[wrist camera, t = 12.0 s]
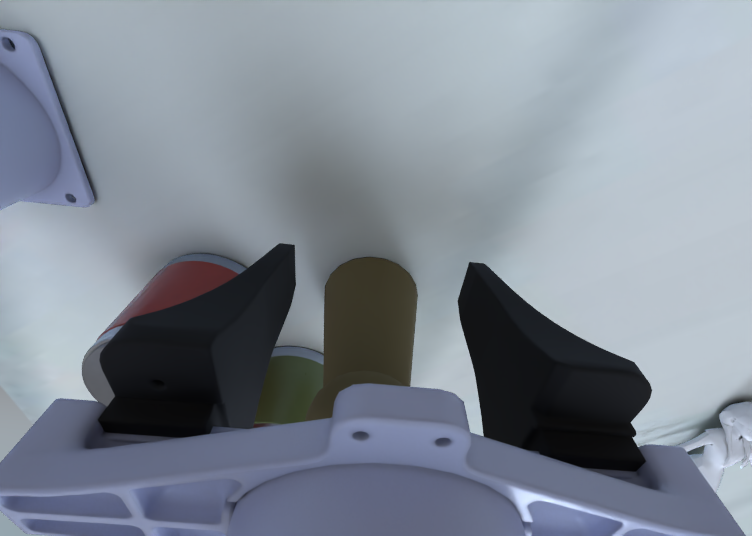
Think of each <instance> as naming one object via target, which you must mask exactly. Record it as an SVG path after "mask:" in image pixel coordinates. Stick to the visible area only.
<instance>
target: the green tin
mask: <svg viewBox="0 0 752 536" xmlns="http://www.w3.org/2000/svg"><path fill="white" fill-rule="evenodd" d="M323 365H324V355H322V354H320V353H318V352H316V351H313V350H310V349H306V348H301V347H291V346H286V347H277V348H274V349H273V352H272V355H271V358H270V362H269V365H268V369H267V373H266V376H265V380H264V384H263V388H262V392H261V396H260V400H259V404H258V408H257V413H256V417H255V421H254V425H253V428H259V427H267V426H274V425H282V424H289V423H297V422H304V421H305V418H306V414H307V411H308V409H309V407H310V405H311V403H312V401H313V399H314V398H315V396H316V394H317V393H318V391H319V390H321V389H322V388H323Z"/></svg>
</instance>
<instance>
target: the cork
mask: <svg viewBox="0 0 752 536" xmlns="http://www.w3.org/2000/svg"><path fill="white" fill-rule="evenodd" d="M417 297H418V295H417V289H416V284H415V282H414V280H413V279H412V277H411V275H410V274H409V273H408V272H407V271H406V270H405V269H403V268H402V267H401V266H400V265H398V264H396V263H394V262H391V261H389V260H386V259H382V258H373V257H365V258H359V259H353V260H351V261H349V262H347V263H344V264H342V265H340V266H339V267H338V268H337V269H336V270H335V271H334V272H333V273H332V274H331V275H330V277H329V279H328V281H327V283H326V285H325V299H324V365H323V388H322V389H321V390H319V391H318V393H317V394H316V396H315V398H314V399H313V401H312V403H311V405H310V407H309V409H308V411H307V414H306V418H305V421H312V420H319V419H327V418H332V415H333V407H334V401H335V399H336V397H337V395H338V393H339V392H340V391H342V390H344V389H346V388H348V387H350V386H352V385H354V384H366V383H371V384H383V385H395V386H407V387H410V382H411V370H412V357H413V345H414V333H415V321H416V309H417Z"/></svg>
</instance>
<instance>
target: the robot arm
mask: <svg viewBox="0 0 752 536" xmlns="http://www.w3.org/2000/svg"><path fill="white" fill-rule="evenodd" d="M9 39H10V40H11V41H13V43H14V45H15V49H14V48H13V47H12V46H11V44H10V42H9ZM71 194H72V195H73V196H74V197H75V198H76V199H74V198H73V197H72V196H71ZM18 201H26V202H36V203H45V204H55V205H65V206H75V207H89V206H90V205H92V204H93V203H94V201H95V199H94V195H93V193H92V190H91V187H90V185H89V182H88V179H87V176H86V174H85V171H84V168H83V165H82V163H81V160H80V157H79V154H78V152H77V149H76V146H75V143H74V141H73V138H72V135H71V133H70V130H69V127H68V124H67V122H66V119H65V116H64V113H63V111H62V108H61V105H60V102H59V100H58V97H57V94H56V91H55V89H54V86H53V83H52V81H51V78H50V75H49V72H48V70H47V67H46V64H45V61H44V59H43V56H42V53H41V50H40V48H39V46H38V44H37V42H36V41H35V39H34V38H33V37H32V36H30V35H29V34H27V33H25V32H21V31H13V30H5V29H0V210H2V209H4V208H6V207H8V206H10V205H12V204H14V203H16V202H18ZM295 286H296V280H295V245H291V244H281V243H279V244H278V245H277V246H275V247H274V248H273V249H272V250H270V251H269V252H268V253H267V254H266V255H264V256H263V257H262V258H261V259H259V260H258V261H257V262H255V263H254V264H253V265H252V266H250V267H249V268H247V269H246V270H244V271H243V272H242V273H240V274H239V275H237V276H236V277H234V278H233V279H231V280H229V281H228V282H226V283H224V284H222V285H220V286H219V287H217V288H215V289H213V290H211V291H209V292H206V293H204V294H202V295H200V296H197V297H195V298H193V299H191V300H188V301H185V302H183V303H180V304H177V305H174V306H171V307H168V308H165V309H162V310H159V311H155V312H151V313H148V314H144V315H140V316H136V317H132V318H130V319H129V320H128V321H127V322H126V323H125V324H124V325H123V326H122V327H121V328H120V330H119V331H118V332H117V333H116V334H115V335H114V337H113V338H112V339H111V340H110V341H109V343H108V344H107V345H106V346H105V347H104V349H103V350H102V351H101V353H100V358H99V362H100V365H101V368H102V371H103V373H104V375H105V377H106V379H107V381H108V383H109V385H110V387H111V389H112V391H113V393H114V395H115V397H114V398H113V400H112V401H111V402H110V404H109V405H108V406H106V405H104V404H102V403H100V402H96V401H88V400H76V399H63V398H60V399H56V400H55V401H54V402H53V403H52V404H51V405H50V406H49V408H48V409H47V410H46V411H45V412H44V413H43V414H42V416H41V417H40V418H39V419H38V420H37V421H36V422H35V424H34V425H33V426H32V427H31V428H30V429H29V430H28V432H27V433H26V434H25V435H24V436H23V437H22V438H21V440H20V441H19V442H18V443H17V444H16V445H15V446H14V448H13V449H12V450H11V451H10V452H9V454H7V456H6V457H5V458H4V459H3V460H2V461H1V463H0V511H1V512H2V513H3V514H4V515H5V516H7V517H8V518H9V519H10V520H11V521H12V522H13V523H14V524H15V525H17V526H18V527H19V528H20V529H21V530H22V531H23V532H24V533H26V534H36V535H48V536H746V535H745V534H744V532H743V531H742V530H741V528H740V527H739V525H738V524H737V523H736V521H735V520H734V518H733V517H732V515H731V514H730V513H729V511H728V510H727V508H726V507H725V506H724V504H723V503H722V501H721V500H720V499H719V497H718V496H717V494H716V493H715V491H714V490H713V489H712V487H711V486H710V484H709V483H708V482H707V480H706V479H705V477H704V476H703V474H702V473H701V472H700V470H699V469H698V467H697V466H696V465H695V463H694V462H693V460H692V459H691V457H690V456H689V455H688V453H687V452H686V450H685V449H684V448H682V447H678V446H666V445H653V444H649V445H643V446H640V447H637V445H636V443H635V442H634V440H633V438H632V437H634V436H635V435H636V431H635V429H634V428H633V426H632V424H631V423H630V422H631V421H632V420H633V419H634V418H635V417H636V416H637V414H638V413H639V412H640V411H641V410H642V409H643V408H644V406H645V405H646V404H647V402H648V400H649V399H650V396H651V392H652V389H651V386H650V383H649V382H648V380H647V379H646V378H645V376H644V375H643V374H642V372H641V371H640V370H639V368H638V367H637V366H636V364H635V363H634V362H632V361H630V360H628V359H625V358H623V357H620V356H618V355H615V354H613V353H611V352H608V351H606V350H604V349H602V348H599V347H597V346H595V345H593V344H591V343H589V342H587V341H585V340H583V339H581V338H580V337H578V336H576V335H574V334H572V333H571V332H569V331H567V330H566V329H564V328H562V327H560V326H559V325H557V324H556V323H554V322H553V321H551V320H550V319H548V318H547V317H545V316H544V315H543V314H541V313H540V312H538V311H537V310H536V309H534V308H533V307H532V306H531V305H529V304H528V303H527V302H526V301H525V300H523V299H522V298H521V297H520V296H519V295H518V294H516V293H515V292H514V291H513V290H512V289H511V288H510V287H509V286H508V285H507V284H506V283H504V282H503V281H502V280H501V279H500V278H499V277H498V276H497V275H496V274H495V273H494V272H493V271H492V270H491V269H490V268H489V267H487V266H486V265H485V264H483V263H473V262H469V265H468V269H467V272H466V275H465V279H464V282H463V285H462V288H461V292H460V295H459V298H458V306H459V314H460V321H461V325H462V329H463V332H464V336H465V339H466V343H467V346H468V350H469V353H470V357H471V360H472V364H473V368H474V372H475V377H476V383H477V389H478V395H479V402H480V409H481V416H482V425H483V434H484V437H483V436H480V435H477V434H474V433H471V432H470V429H469V424H468V420H467V415H466V410H465V406H464V402H463V401H462V400H461V399H460V398H459V397H458V396H457V395H456V394H454V393H451V392H448V391H444V390H440V389H431V388H419V387H407V386H395V385H383V384H371V383H366V384H354V385H352V386H350V387H348V388H346V389H344V390H342V391H340V392H339V393H338V395H337V397H336V399H335V401H334V407H333V415H332V418H327V419H319V420H312V421H304V422H297V423H289V424H282V425H274V426H267V427H259V428H253V425H254V421H255V417H256V413H257V408H258V404H259V400H260V396H261V392H262V388H263V384H264V380H265V376H266V373H267V369H268V365H269V362H270V358H271V355H272V352H273V349H274V347H275V344H276V342H277V339H278V337H279V334H280V332H281V329H282V327H283V324H284V322H285V319H286V316H287V314H288V311H289V309H290V306H291V302H292V299H293V294H294V290H295Z"/></svg>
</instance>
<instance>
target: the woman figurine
mask: <svg viewBox="0 0 752 536" xmlns="http://www.w3.org/2000/svg"><path fill="white" fill-rule="evenodd" d="M719 417H720V421H721V424H722V427H723V428H713V429H706V430H705V433H702V434H701V435H699V436H697V437H696V438H694V439H691V440H689V441H687V442H684V443H682V444H679V445H676V446H678V447H682V448H684V449H685V450H686V452H688V451H690V450H693V449H695V448H698V447H700V446H704V445H705V448H704V452H703V454H692V455H689V456H690V457H691V459H692V460H693V462H694V463H695V465H696V466H697V467H698V469H699V470H700V472H701V473H702V474H703V476H704V477H705V479H706V480H707V482H708V483H709V484H710V486H711V487H712V489H713V490H714V491H715V493H716V492H717V490H718V488H719V486H720V483H721V480H722V477H723V474H724V468H726V467H728V466H731V465H734V464H736V463H738V462H740V461H742V460H744V458H745V456H746V459H745V460H744V461H742V463H741V466H740V469H741V468H744V467H745V466H747V465H748V460H749V462H750V463H751V466H752V449H751V441H752V403H751V402H741V403H736V404H731V405H729V406H728V407H726V408H725V409H724V410H723V411H722V412H721V414H720V415H719Z"/></svg>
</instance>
